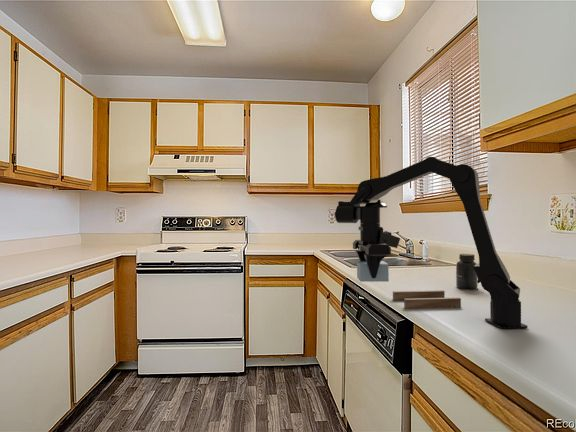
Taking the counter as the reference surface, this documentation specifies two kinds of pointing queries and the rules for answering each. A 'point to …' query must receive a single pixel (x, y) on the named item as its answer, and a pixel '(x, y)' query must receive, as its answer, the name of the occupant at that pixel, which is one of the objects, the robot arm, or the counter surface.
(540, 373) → the counter surface
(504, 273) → the robot arm
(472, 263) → the supplement bottle
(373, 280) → the slate block
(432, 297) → the trap channel
